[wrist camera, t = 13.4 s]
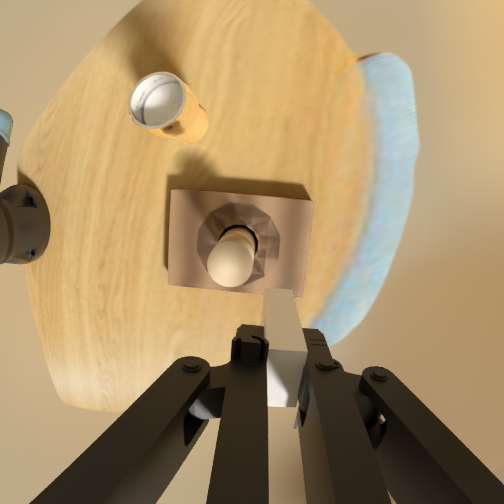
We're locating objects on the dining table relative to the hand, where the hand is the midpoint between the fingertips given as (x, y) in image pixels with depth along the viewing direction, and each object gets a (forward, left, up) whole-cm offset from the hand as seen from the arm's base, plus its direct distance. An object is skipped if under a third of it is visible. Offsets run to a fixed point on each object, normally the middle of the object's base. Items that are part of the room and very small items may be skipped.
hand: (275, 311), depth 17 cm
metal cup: (-13, +15, -30) cm, 36 cm away
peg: (-4, -2, -29) cm, 30 cm away
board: (-4, -2, -29) cm, 30 cm away
